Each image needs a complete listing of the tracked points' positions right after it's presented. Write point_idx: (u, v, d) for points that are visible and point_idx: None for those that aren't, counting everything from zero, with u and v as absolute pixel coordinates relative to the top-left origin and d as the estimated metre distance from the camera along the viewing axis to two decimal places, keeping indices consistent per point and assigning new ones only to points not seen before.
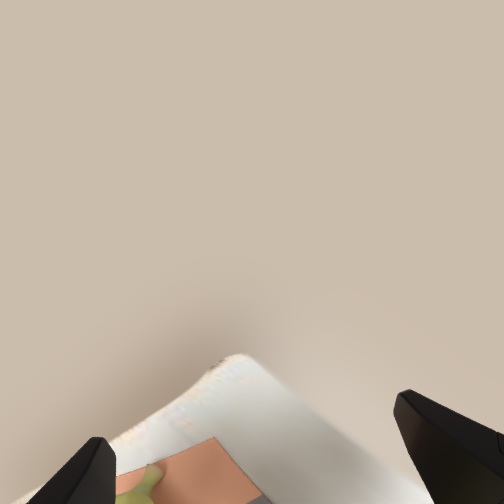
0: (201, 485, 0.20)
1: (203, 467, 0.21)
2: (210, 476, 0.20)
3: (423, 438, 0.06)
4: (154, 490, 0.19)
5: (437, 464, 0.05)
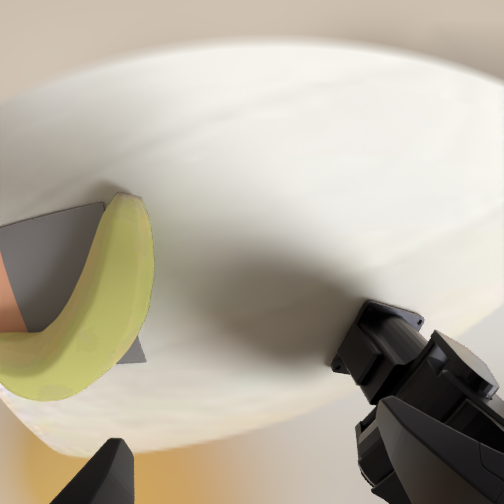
0: None
1: None
2: None
3: (404, 446, 0.06)
4: None
5: (418, 473, 0.05)
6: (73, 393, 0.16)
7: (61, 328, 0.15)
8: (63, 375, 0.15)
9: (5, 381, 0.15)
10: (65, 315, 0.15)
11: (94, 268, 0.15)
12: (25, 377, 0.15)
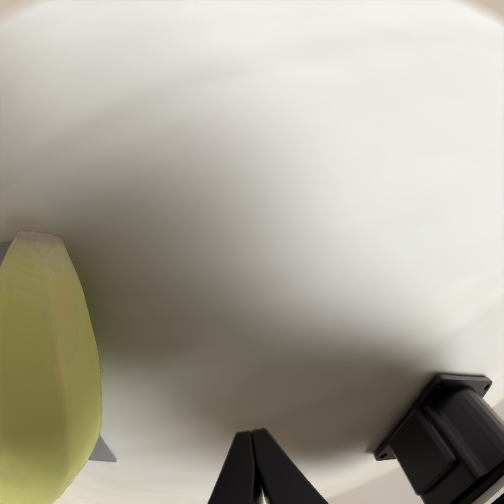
0: None
1: None
2: None
3: (262, 486, 0.06)
4: None
5: None
6: None
7: None
8: (0, 498, 0.06)
9: None
10: None
11: None
12: None
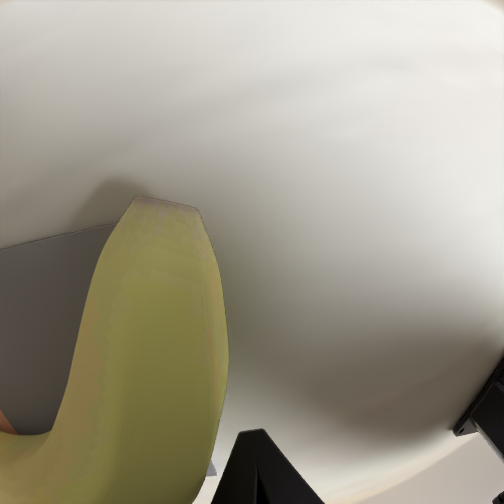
0: None
1: None
2: None
3: None
4: None
5: None
6: None
7: (46, 485, 0.05)
8: None
9: None
10: (49, 466, 0.05)
11: (94, 402, 0.05)
12: None
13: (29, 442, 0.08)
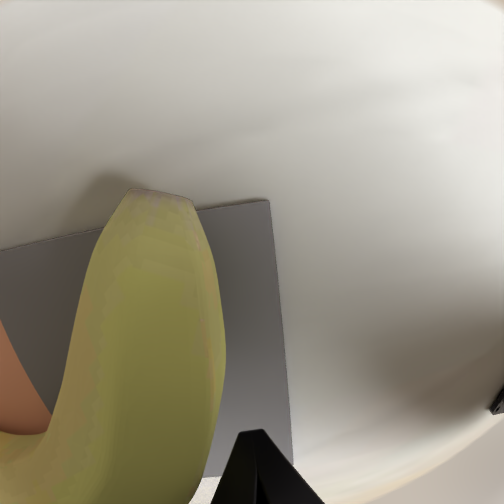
0: None
1: None
2: None
3: None
4: None
5: None
6: None
7: (44, 483, 0.05)
8: None
9: None
10: (46, 463, 0.05)
11: (88, 396, 0.05)
12: None
13: (28, 441, 0.08)
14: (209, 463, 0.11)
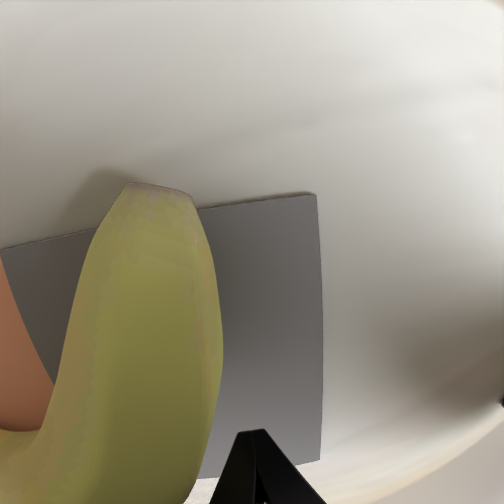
0: None
1: None
2: None
3: (260, 486, 0.06)
4: (1, 411, 0.10)
5: None
6: None
7: (38, 480, 0.05)
8: None
9: None
10: (39, 460, 0.05)
11: (82, 393, 0.05)
12: None
13: (23, 438, 0.08)
14: None
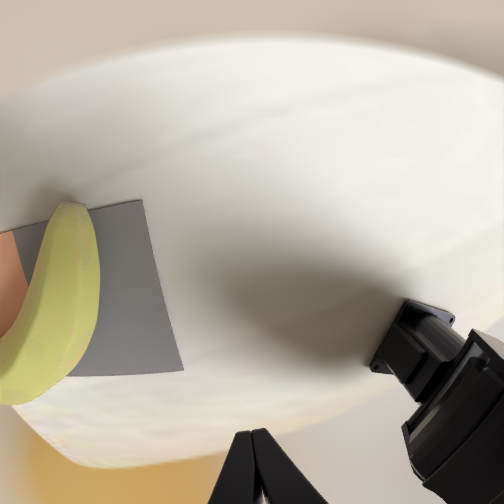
0: None
1: None
2: None
3: (262, 486, 0.06)
4: (2, 330, 0.18)
5: None
6: (31, 398, 0.14)
7: (14, 335, 0.14)
8: (19, 380, 0.13)
9: None
10: (18, 322, 0.14)
11: (38, 277, 0.14)
12: None
13: None
14: (129, 360, 0.20)
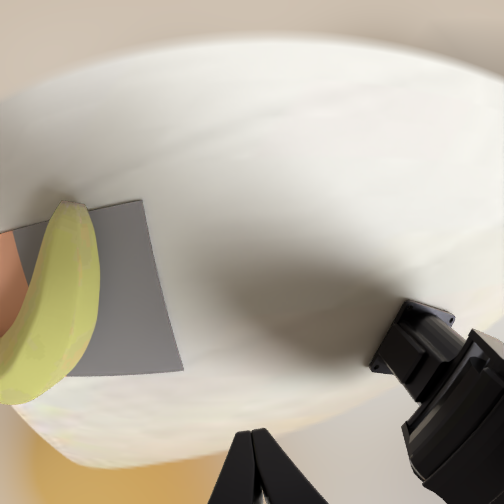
0: None
1: None
2: None
3: (262, 486, 0.06)
4: (2, 330, 0.18)
5: None
6: (30, 398, 0.14)
7: (14, 335, 0.14)
8: (18, 380, 0.13)
9: None
10: (17, 322, 0.14)
11: (38, 277, 0.14)
12: None
13: None
14: (129, 360, 0.20)
